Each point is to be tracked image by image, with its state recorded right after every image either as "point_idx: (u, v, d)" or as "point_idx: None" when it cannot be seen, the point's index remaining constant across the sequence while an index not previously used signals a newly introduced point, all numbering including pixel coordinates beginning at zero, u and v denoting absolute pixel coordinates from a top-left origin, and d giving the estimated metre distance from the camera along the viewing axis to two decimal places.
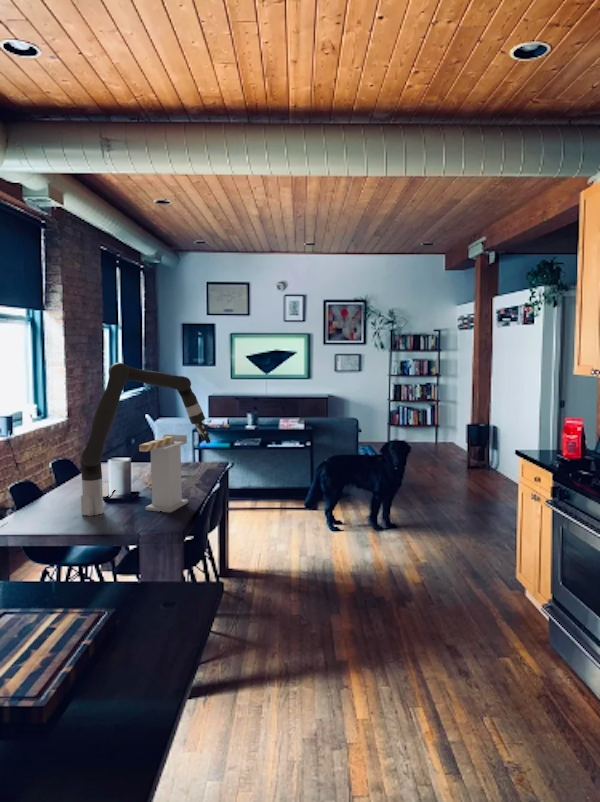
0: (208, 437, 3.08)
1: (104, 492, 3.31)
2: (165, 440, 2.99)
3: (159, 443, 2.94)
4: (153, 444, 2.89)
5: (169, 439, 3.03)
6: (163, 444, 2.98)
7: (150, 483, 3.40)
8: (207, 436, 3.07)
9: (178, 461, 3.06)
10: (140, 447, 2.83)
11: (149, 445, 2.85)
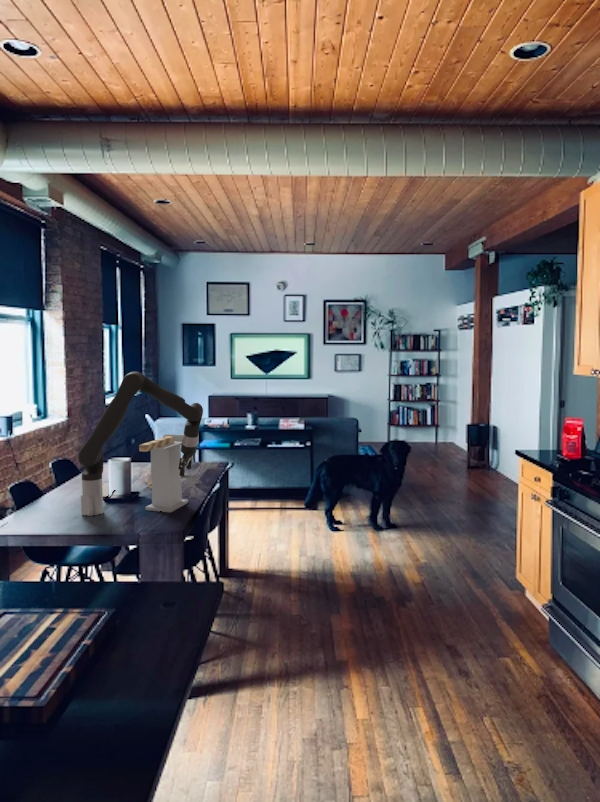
0: (183, 471, 2.94)
1: (104, 492, 3.31)
2: (165, 440, 2.99)
3: (159, 443, 2.94)
4: (153, 444, 2.89)
5: (169, 439, 3.03)
6: (163, 444, 2.98)
7: (150, 483, 3.40)
8: (182, 470, 2.94)
9: (178, 461, 3.06)
10: (140, 447, 2.83)
11: (149, 445, 2.85)
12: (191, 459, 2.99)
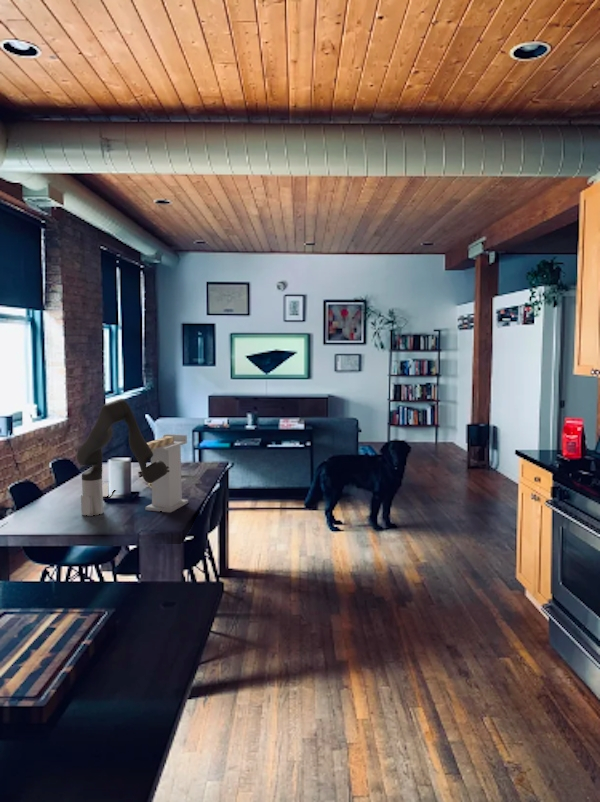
0: None
1: (104, 492, 3.31)
2: (165, 440, 2.99)
3: (159, 443, 2.94)
4: (153, 444, 2.89)
5: (169, 439, 3.03)
6: (163, 444, 2.98)
7: (150, 483, 3.40)
8: None
9: (178, 461, 3.06)
10: None
11: (149, 445, 2.85)
12: None
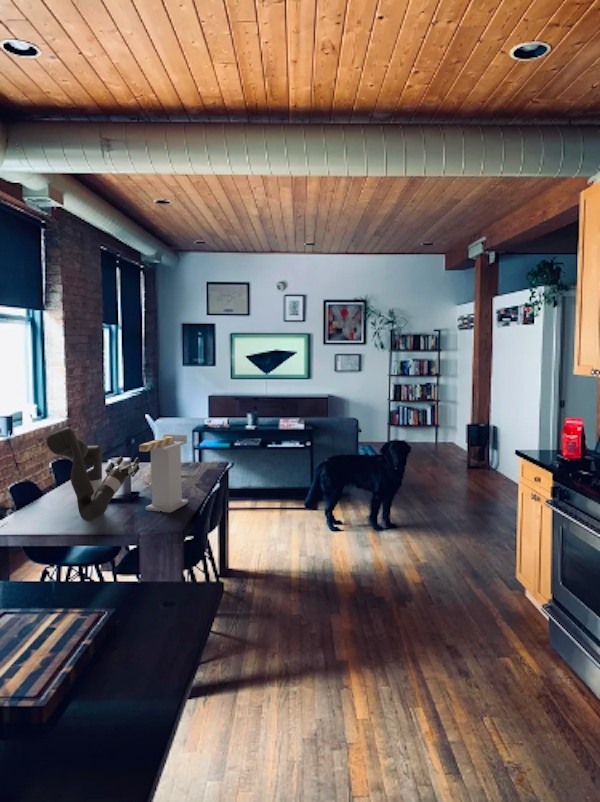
0: None
1: None
2: (165, 440, 2.99)
3: (159, 443, 2.94)
4: (153, 444, 2.89)
5: (169, 439, 3.03)
6: (163, 444, 2.98)
7: (151, 483, 3.40)
8: None
9: (178, 461, 3.06)
10: (140, 447, 2.83)
11: (149, 445, 2.85)
12: (128, 471, 2.68)
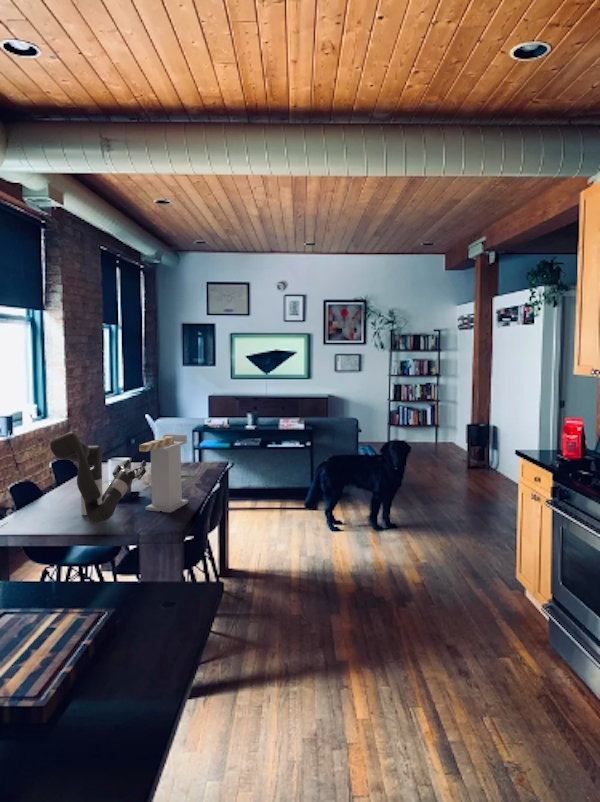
0: None
1: (104, 492, 3.31)
2: (165, 440, 2.99)
3: (159, 443, 2.94)
4: (153, 444, 2.89)
5: (169, 439, 3.03)
6: (163, 444, 2.98)
7: None
8: None
9: (178, 461, 3.06)
10: (140, 447, 2.83)
11: (149, 445, 2.85)
12: (135, 473, 2.74)
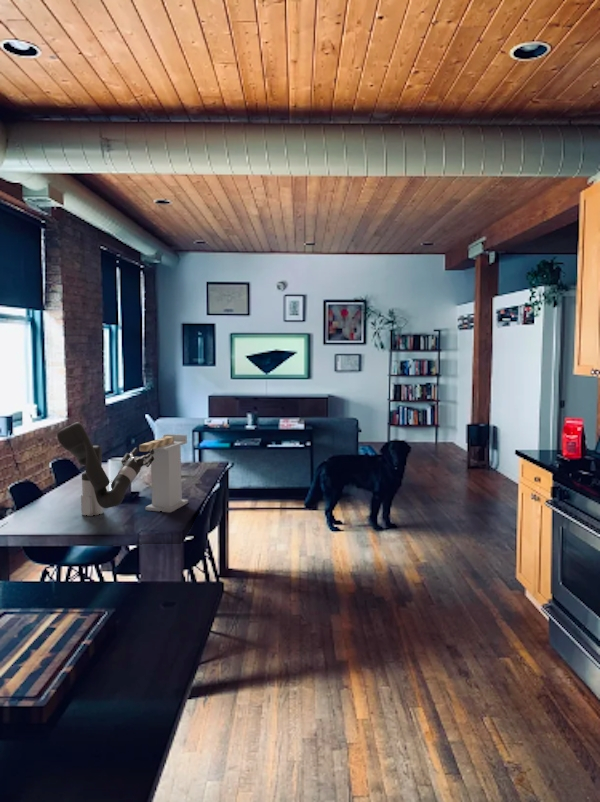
0: None
1: None
2: (165, 440, 2.99)
3: (159, 443, 2.94)
4: (153, 444, 2.89)
5: (169, 439, 3.03)
6: (163, 444, 2.98)
7: None
8: None
9: (178, 461, 3.06)
10: (140, 447, 2.83)
11: (149, 445, 2.85)
12: (143, 461, 2.80)
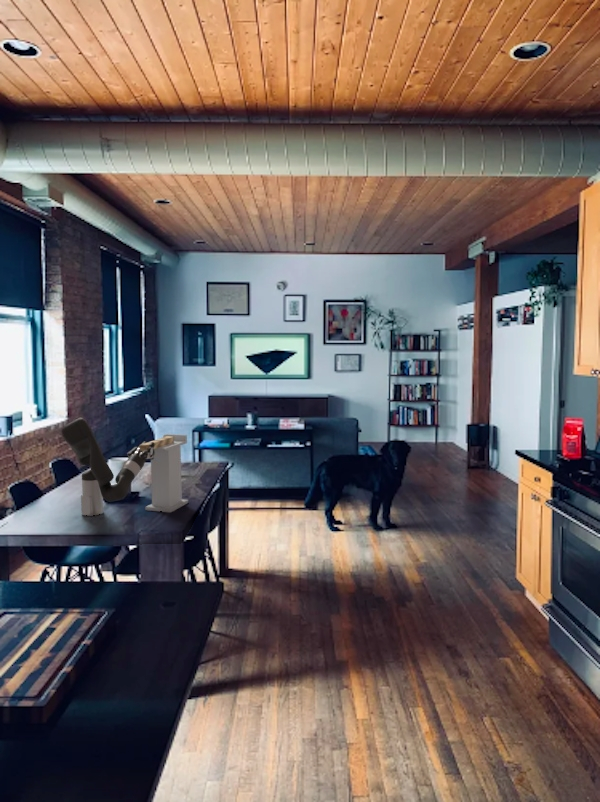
0: None
1: None
2: (165, 440, 2.99)
3: (159, 443, 2.94)
4: None
5: (169, 439, 3.03)
6: (163, 444, 2.98)
7: None
8: None
9: (178, 461, 3.06)
10: (140, 447, 2.83)
11: None
12: None
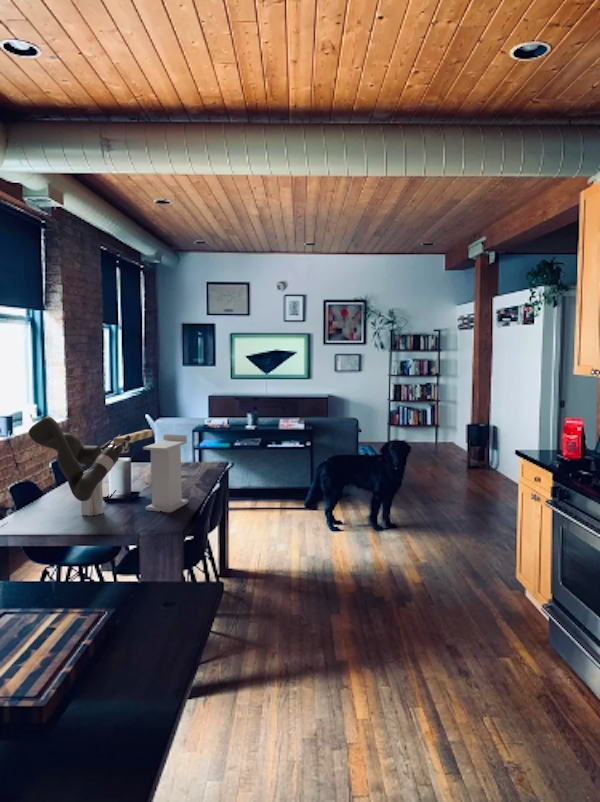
0: None
1: (104, 492, 3.30)
2: (143, 433, 2.80)
3: (136, 436, 2.74)
4: None
5: (147, 432, 2.83)
6: (140, 438, 2.78)
7: None
8: None
9: (178, 461, 3.06)
10: (114, 440, 2.64)
11: (124, 438, 2.66)
12: None
